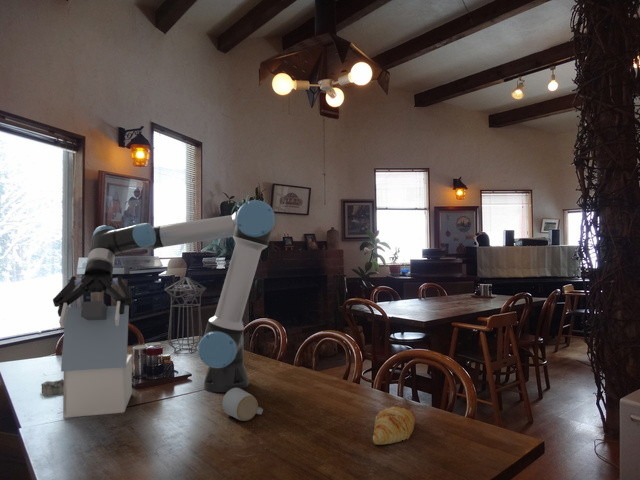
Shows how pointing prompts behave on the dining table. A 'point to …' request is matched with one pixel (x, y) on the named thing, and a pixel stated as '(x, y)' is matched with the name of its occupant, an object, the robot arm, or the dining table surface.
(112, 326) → the lid
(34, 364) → the dining table surface
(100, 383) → the storage box
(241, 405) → the ceramic mug
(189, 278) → the geometric lantern
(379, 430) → the croissant
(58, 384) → the grey piece
